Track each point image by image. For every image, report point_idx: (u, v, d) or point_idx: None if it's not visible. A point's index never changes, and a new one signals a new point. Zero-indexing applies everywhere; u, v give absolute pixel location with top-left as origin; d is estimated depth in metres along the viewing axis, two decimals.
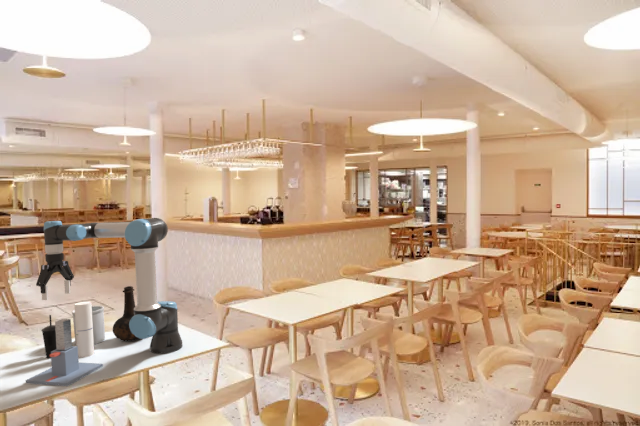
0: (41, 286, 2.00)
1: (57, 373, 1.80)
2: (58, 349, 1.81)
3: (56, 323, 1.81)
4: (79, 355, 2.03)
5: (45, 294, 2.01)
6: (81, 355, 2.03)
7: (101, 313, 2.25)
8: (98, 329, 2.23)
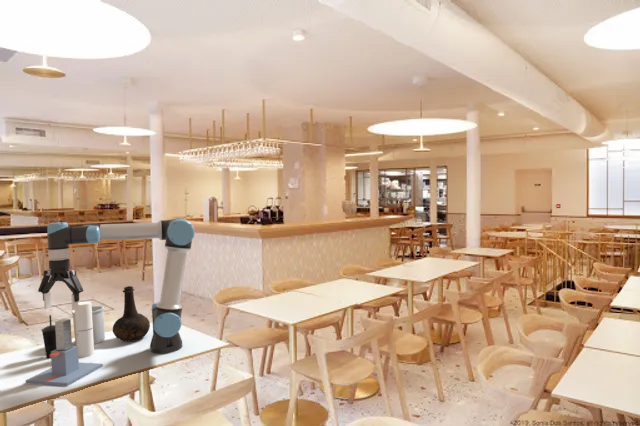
0: None
1: (57, 373, 1.80)
2: (58, 349, 1.81)
3: (56, 323, 1.81)
4: (79, 355, 2.03)
5: None
6: (81, 355, 2.03)
7: (101, 313, 2.25)
8: (98, 329, 2.23)
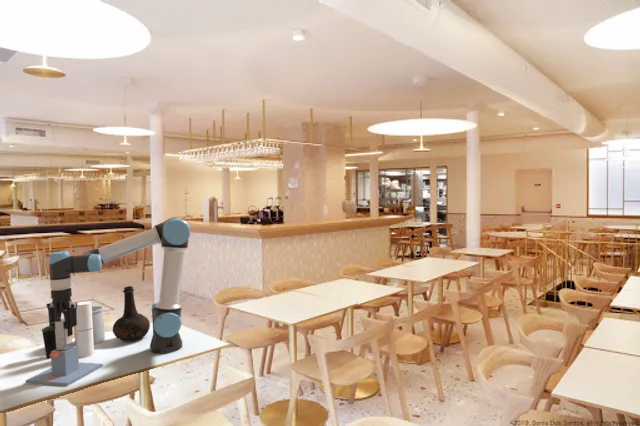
0: (54, 327, 1.83)
1: (57, 373, 1.80)
2: (58, 349, 1.81)
3: (56, 323, 1.81)
4: (79, 355, 2.03)
5: None
6: (81, 355, 2.03)
7: (101, 313, 2.25)
8: (98, 329, 2.23)
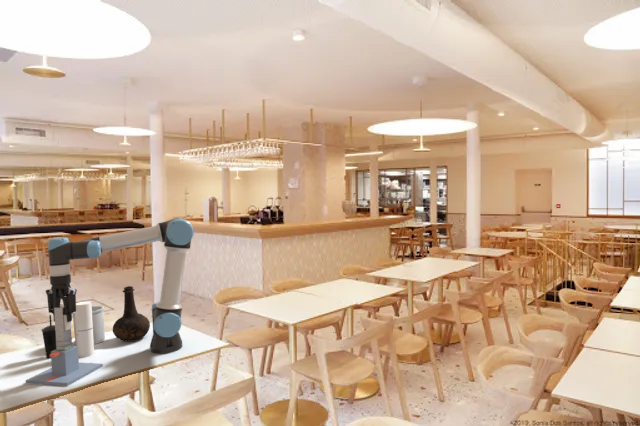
0: None
1: (57, 373, 1.80)
2: (57, 335, 1.81)
3: (55, 309, 1.81)
4: (79, 355, 2.03)
5: None
6: (81, 355, 2.03)
7: (101, 313, 2.25)
8: (98, 329, 2.23)
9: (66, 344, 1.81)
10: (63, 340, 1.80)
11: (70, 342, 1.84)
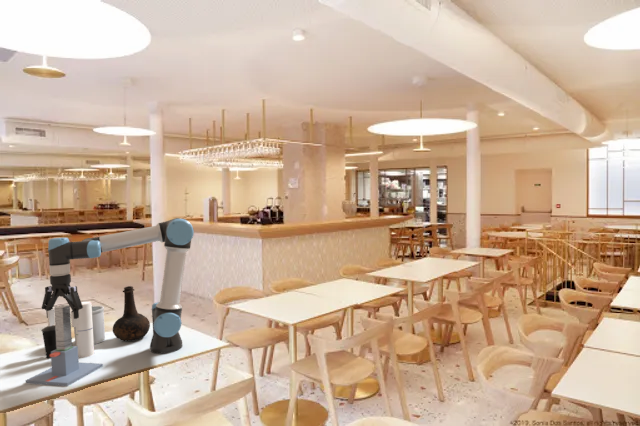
0: None
1: (57, 373, 1.80)
2: (57, 335, 1.81)
3: (55, 309, 1.81)
4: (79, 355, 2.03)
5: None
6: (81, 355, 2.03)
7: (101, 313, 2.25)
8: (98, 329, 2.23)
9: (66, 344, 1.81)
10: (63, 340, 1.80)
11: (70, 342, 1.84)
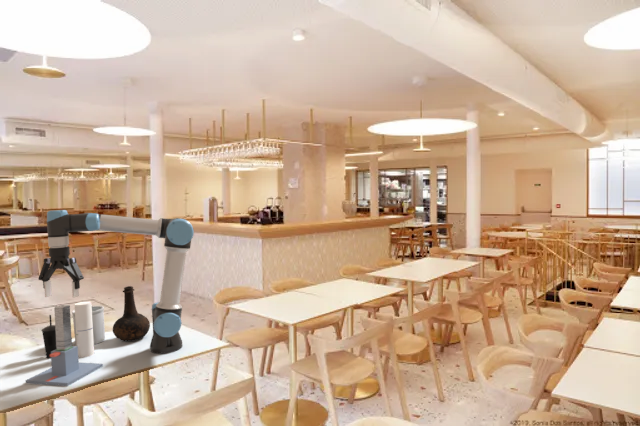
0: None
1: (57, 373, 1.80)
2: (57, 335, 1.81)
3: (55, 309, 1.81)
4: (79, 355, 2.03)
5: None
6: (81, 355, 2.03)
7: (101, 313, 2.25)
8: (98, 329, 2.23)
9: (66, 344, 1.81)
10: (63, 340, 1.80)
11: (70, 342, 1.84)
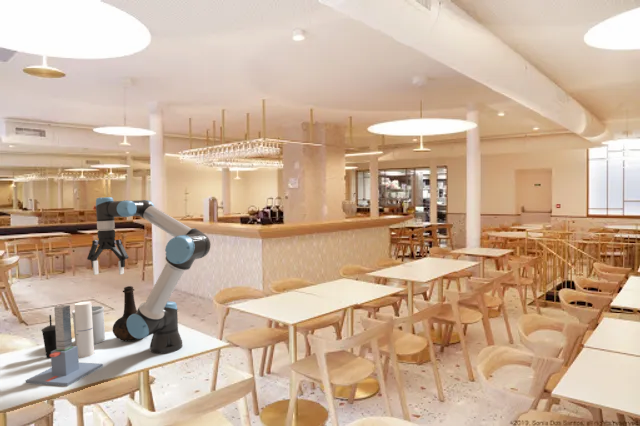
0: None
1: (57, 373, 1.80)
2: (57, 335, 1.81)
3: (55, 309, 1.81)
4: (79, 355, 2.03)
5: None
6: (81, 355, 2.03)
7: (101, 313, 2.25)
8: (98, 329, 2.23)
9: (66, 344, 1.81)
10: (63, 340, 1.80)
11: (70, 342, 1.84)
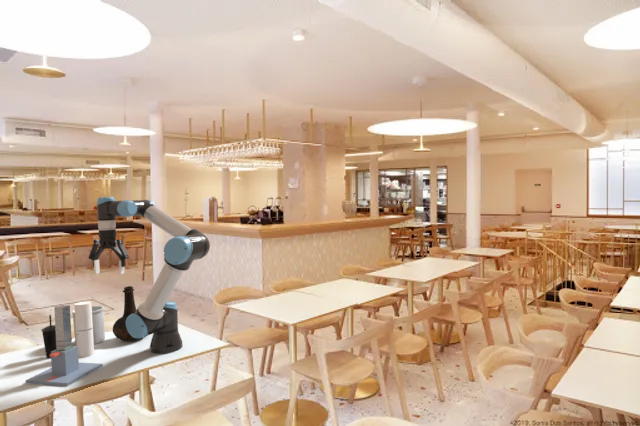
0: (93, 259, 2.07)
1: (57, 373, 1.80)
2: (57, 335, 1.81)
3: (55, 309, 1.81)
4: (79, 355, 2.03)
5: None
6: (81, 355, 2.03)
7: (101, 313, 2.25)
8: (98, 329, 2.23)
9: (66, 344, 1.81)
10: (63, 340, 1.80)
11: (70, 342, 1.84)
